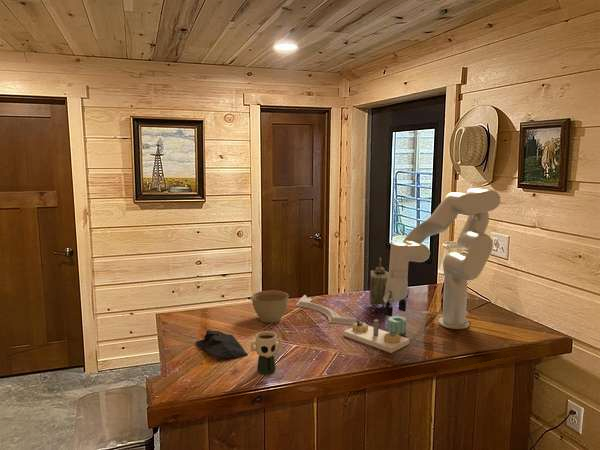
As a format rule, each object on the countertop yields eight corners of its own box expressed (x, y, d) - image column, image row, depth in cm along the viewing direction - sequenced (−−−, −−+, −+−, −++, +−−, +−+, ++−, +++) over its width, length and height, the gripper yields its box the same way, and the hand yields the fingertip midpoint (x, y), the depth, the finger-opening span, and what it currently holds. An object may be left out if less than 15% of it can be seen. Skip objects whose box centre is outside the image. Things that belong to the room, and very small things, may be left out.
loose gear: (394, 325, 203) (394, 314, 202) (409, 330, 197) (410, 319, 196) (383, 330, 197) (384, 319, 196) (399, 335, 192) (399, 323, 191)
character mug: (254, 378, 156) (253, 341, 154) (248, 369, 162) (247, 333, 160) (285, 373, 160) (285, 336, 158) (277, 364, 166) (277, 329, 164)
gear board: (362, 327, 200) (362, 309, 199) (408, 343, 184) (409, 324, 183) (343, 335, 192) (344, 316, 190) (391, 353, 176) (391, 332, 174)
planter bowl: (263, 311, 221) (263, 288, 219) (294, 316, 214) (294, 293, 212) (245, 322, 206) (244, 298, 205) (277, 328, 199) (277, 303, 198)
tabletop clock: (369, 303, 231) (371, 253, 227) (388, 304, 230) (390, 254, 226) (370, 313, 217) (371, 260, 213) (390, 314, 216) (391, 261, 212)
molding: (362, 324, 206) (362, 318, 205) (340, 330, 199) (340, 323, 199) (307, 298, 241) (307, 293, 240) (287, 302, 234) (287, 297, 233)
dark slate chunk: (209, 365, 166) (209, 352, 166) (194, 342, 186) (194, 331, 185) (250, 357, 173) (250, 345, 172) (231, 335, 193) (231, 324, 192)
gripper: (402, 268, 202) (399, 306, 204) (378, 274, 190) (375, 315, 192) (417, 271, 197) (414, 311, 199) (393, 278, 185) (390, 320, 187)
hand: (395, 313), depth 196 cm, fingers open, 9 cm apart
